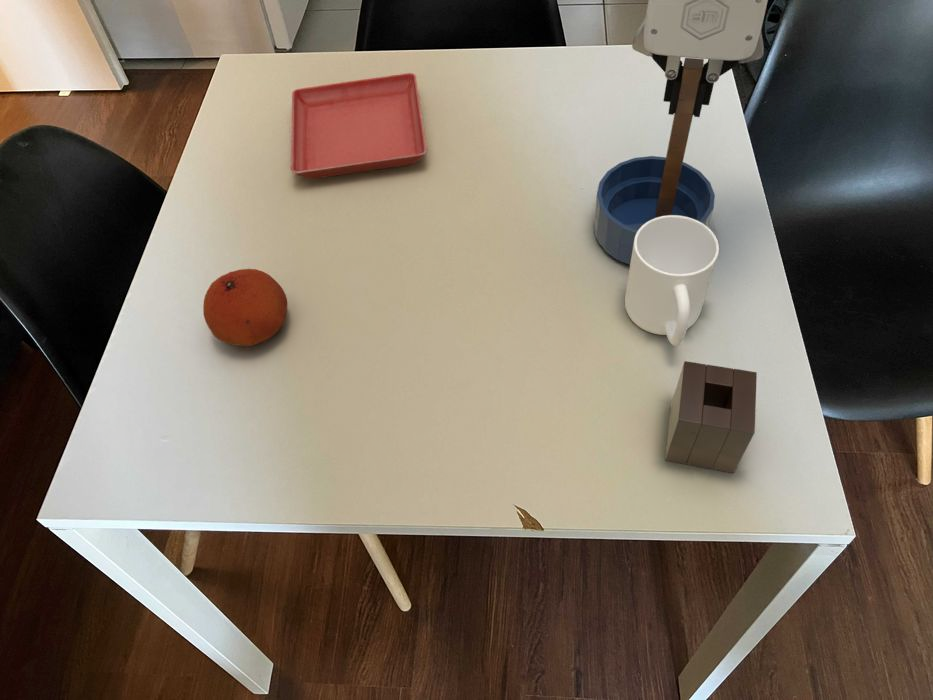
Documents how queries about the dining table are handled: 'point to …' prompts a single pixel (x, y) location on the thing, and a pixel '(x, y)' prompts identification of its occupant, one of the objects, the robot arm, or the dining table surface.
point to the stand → (711, 416)
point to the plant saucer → (356, 126)
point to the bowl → (644, 201)
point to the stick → (679, 135)
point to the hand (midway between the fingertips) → (684, 106)
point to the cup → (670, 275)
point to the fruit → (244, 307)
